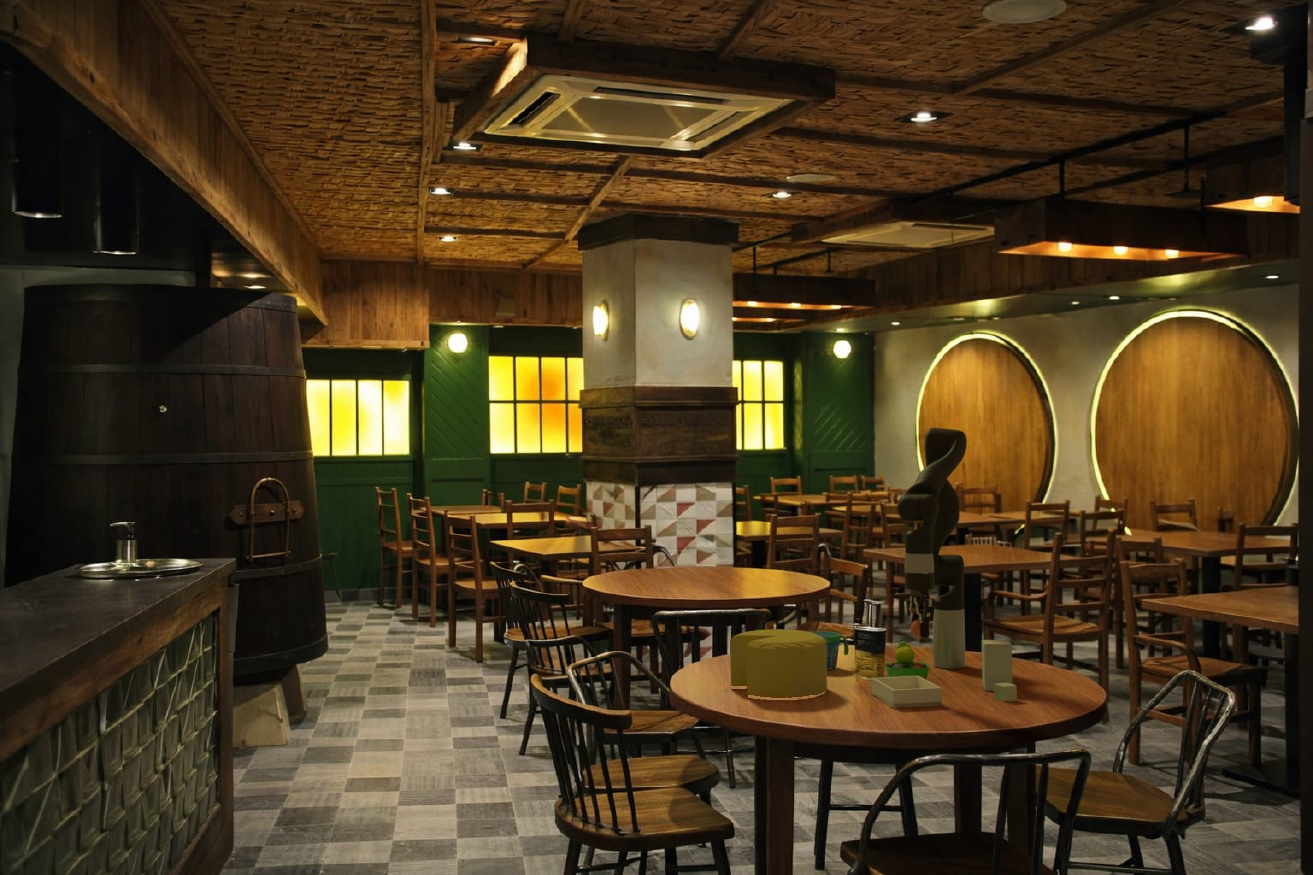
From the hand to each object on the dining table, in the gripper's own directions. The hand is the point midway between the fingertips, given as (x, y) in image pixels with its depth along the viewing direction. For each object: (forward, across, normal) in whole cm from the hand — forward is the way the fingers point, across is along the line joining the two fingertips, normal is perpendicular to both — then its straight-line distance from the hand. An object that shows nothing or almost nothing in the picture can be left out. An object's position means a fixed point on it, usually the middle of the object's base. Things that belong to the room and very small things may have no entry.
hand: (920, 635), depth 295 cm
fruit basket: (+16, -20, +4) cm, 26 cm away
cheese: (+17, -20, -33) cm, 42 cm away
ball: (+1, 0, 0) cm, 1 cm away
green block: (+16, +6, +21) cm, 27 cm away
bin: (+16, 0, -4) cm, 17 cm away
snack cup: (+16, -46, -11) cm, 50 cm away
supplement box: (+16, -7, +25) cm, 31 cm away
